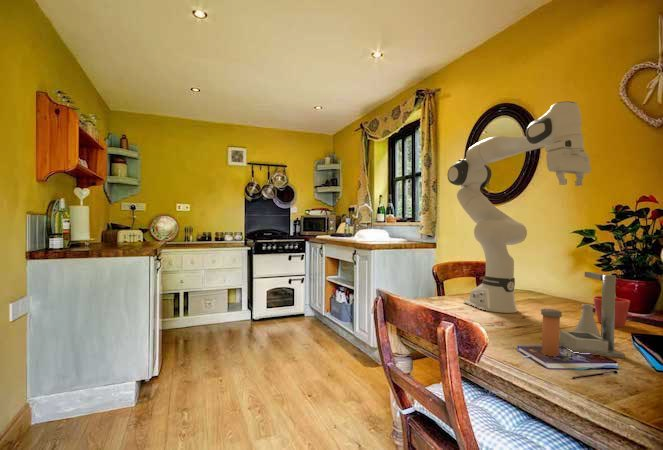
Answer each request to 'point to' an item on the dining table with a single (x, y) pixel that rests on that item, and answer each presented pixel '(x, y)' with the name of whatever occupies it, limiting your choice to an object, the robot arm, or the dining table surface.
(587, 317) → the flask
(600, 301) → the flower pot
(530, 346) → the dining table surface
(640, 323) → the dining table surface
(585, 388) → the dining table surface
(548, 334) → the orange capped jar
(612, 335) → the grey post stand
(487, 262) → the robot arm
